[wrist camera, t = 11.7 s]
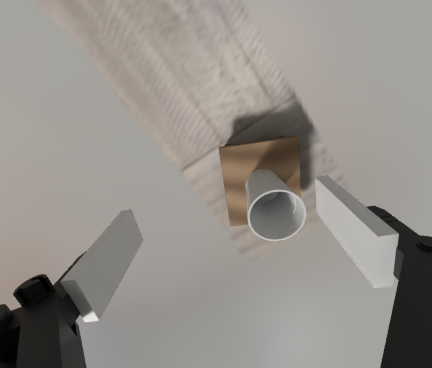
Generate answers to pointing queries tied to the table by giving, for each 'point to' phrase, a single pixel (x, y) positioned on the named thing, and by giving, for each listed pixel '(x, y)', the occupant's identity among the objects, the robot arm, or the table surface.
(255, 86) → the table surface
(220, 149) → the low wooden table
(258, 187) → the cup
